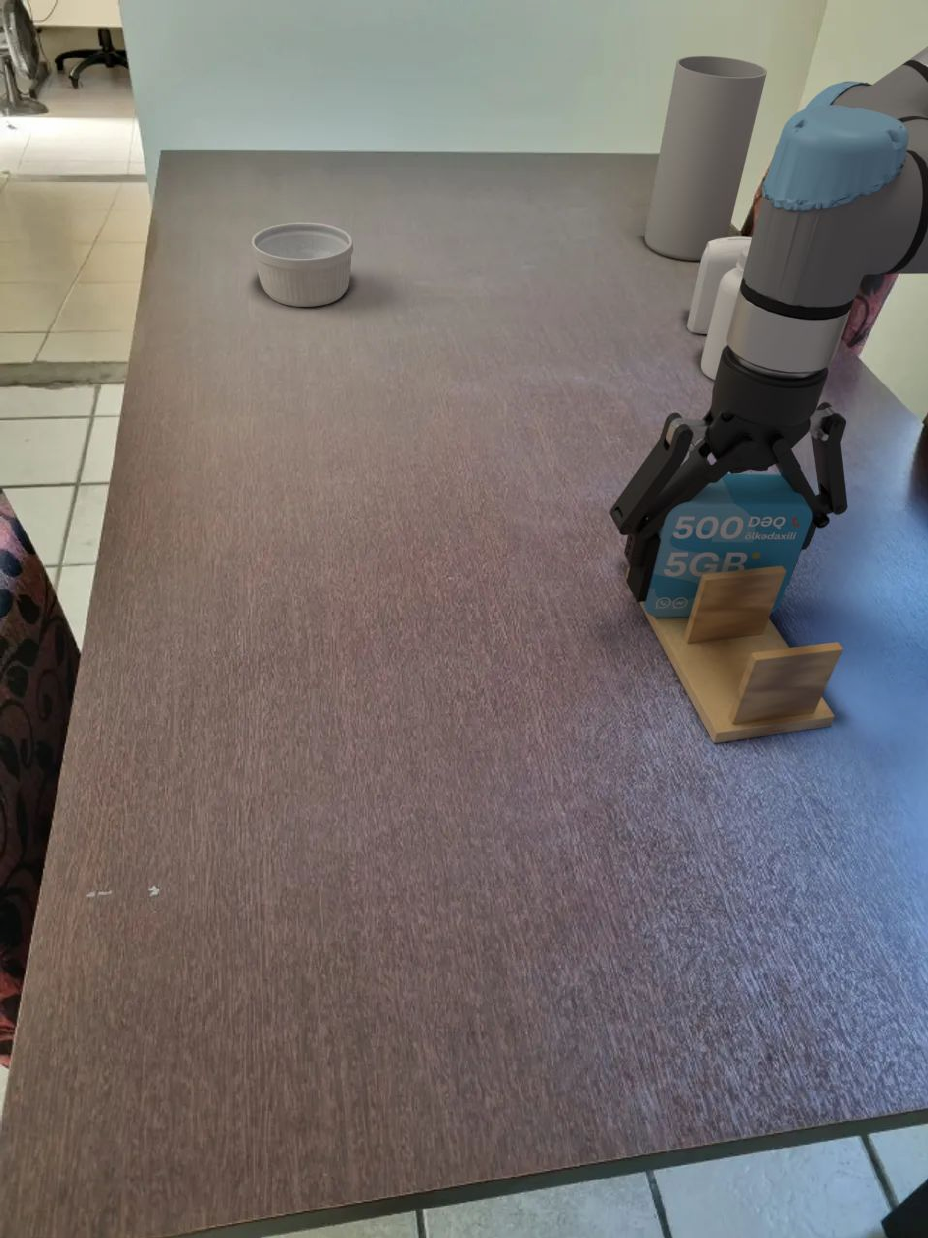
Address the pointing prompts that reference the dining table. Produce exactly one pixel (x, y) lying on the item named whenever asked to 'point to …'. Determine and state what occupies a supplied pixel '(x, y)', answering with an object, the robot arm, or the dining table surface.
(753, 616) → the slot rack
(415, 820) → the dining table surface
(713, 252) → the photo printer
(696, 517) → the data package
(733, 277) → the pill bottle
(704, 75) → the cylinder vase
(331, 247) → the ramekin
